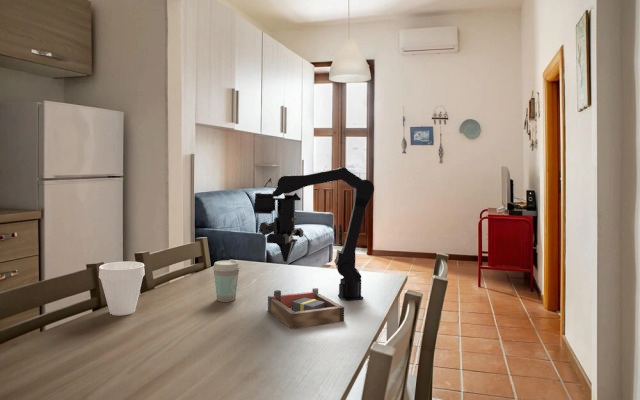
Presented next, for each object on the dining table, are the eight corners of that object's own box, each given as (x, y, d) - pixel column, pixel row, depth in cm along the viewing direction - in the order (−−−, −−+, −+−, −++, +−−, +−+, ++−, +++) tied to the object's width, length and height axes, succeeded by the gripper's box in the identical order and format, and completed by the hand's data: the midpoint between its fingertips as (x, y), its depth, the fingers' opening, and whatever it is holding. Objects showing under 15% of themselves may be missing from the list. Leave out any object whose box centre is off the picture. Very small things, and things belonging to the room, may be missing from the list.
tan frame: (315, 304, 150) (316, 290, 150) (344, 321, 134) (344, 305, 134) (267, 310, 143) (267, 295, 143) (291, 329, 127) (291, 312, 127)
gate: (316, 303, 150) (316, 286, 150) (319, 305, 148) (319, 287, 148) (271, 308, 144) (271, 290, 143) (273, 310, 142) (274, 292, 142)
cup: (154, 309, 142) (153, 263, 141) (121, 321, 131) (120, 271, 130) (123, 303, 148) (123, 259, 147) (89, 314, 136) (88, 267, 136)
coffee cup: (233, 304, 149) (234, 265, 148) (208, 302, 151) (208, 264, 150) (243, 296, 158) (243, 260, 157) (219, 295, 159) (219, 259, 158)
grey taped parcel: (304, 308, 146) (304, 297, 146) (325, 313, 141) (325, 301, 141) (291, 313, 141) (291, 301, 141) (312, 318, 136) (312, 306, 136)
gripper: (273, 210, 167) (273, 255, 168) (251, 215, 149) (251, 265, 150) (304, 212, 164) (303, 257, 165) (284, 217, 146) (284, 267, 147)
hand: (285, 261), depth 157 cm, fingers closed
